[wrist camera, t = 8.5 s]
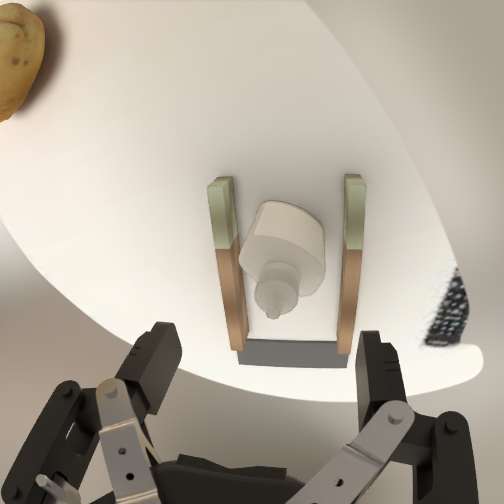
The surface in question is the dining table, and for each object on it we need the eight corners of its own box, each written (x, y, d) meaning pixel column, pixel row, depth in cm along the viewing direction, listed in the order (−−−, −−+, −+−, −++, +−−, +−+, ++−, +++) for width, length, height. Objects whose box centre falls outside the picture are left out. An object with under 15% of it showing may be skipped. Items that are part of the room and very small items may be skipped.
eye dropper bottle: (290, 182, 25) (274, 252, 15) (329, 236, 27) (337, 331, 16) (248, 211, 27) (206, 293, 17) (287, 261, 29) (271, 361, 18)
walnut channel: (217, 177, 26) (206, 187, 24) (359, 174, 24) (365, 185, 21) (237, 330, 33) (231, 350, 31) (348, 333, 31) (350, 354, 29)
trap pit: (235, 338, 34) (235, 339, 34) (350, 341, 32) (350, 343, 31) (239, 362, 36) (239, 364, 35) (346, 366, 33) (346, 368, 33)
